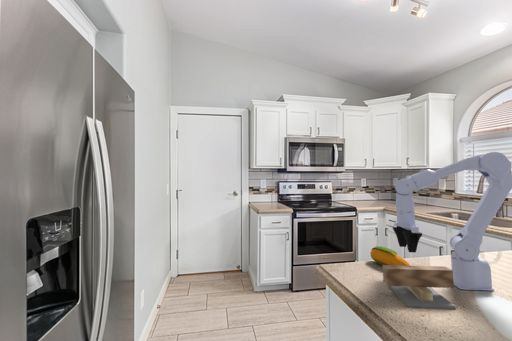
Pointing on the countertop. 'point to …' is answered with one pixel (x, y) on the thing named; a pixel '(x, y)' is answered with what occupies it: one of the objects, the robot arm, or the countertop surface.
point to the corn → (387, 256)
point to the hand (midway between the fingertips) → (407, 249)
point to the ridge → (422, 293)
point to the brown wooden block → (418, 276)
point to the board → (413, 301)
